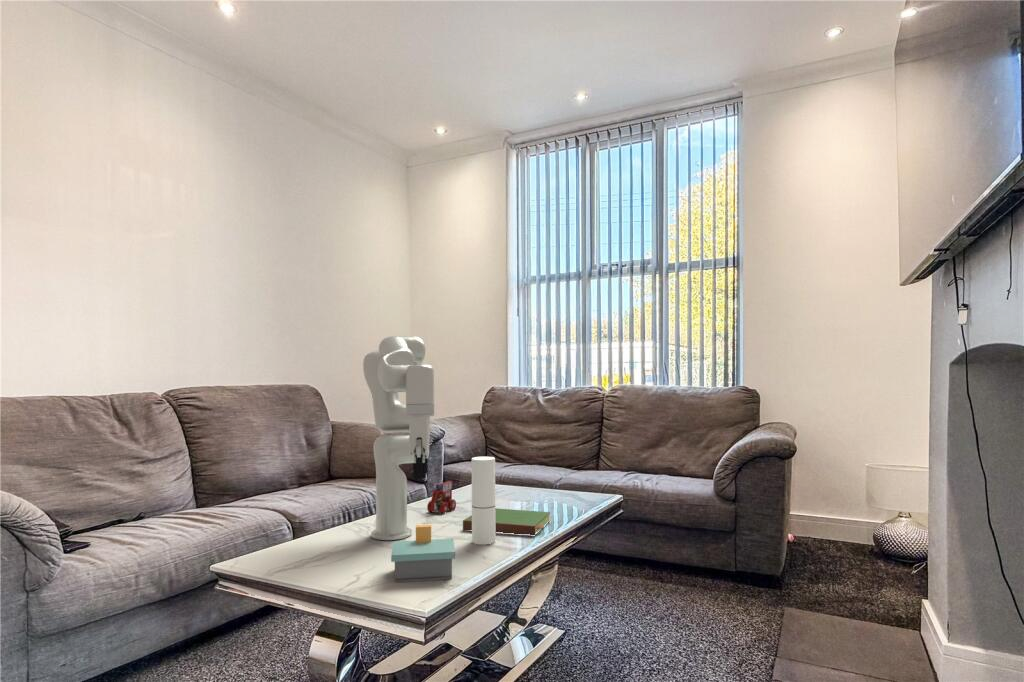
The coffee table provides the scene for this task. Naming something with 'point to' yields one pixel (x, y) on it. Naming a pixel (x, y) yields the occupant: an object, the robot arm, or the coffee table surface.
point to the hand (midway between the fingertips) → (420, 475)
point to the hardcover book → (515, 521)
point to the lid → (423, 547)
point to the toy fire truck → (442, 498)
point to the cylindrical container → (483, 500)
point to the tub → (423, 570)
